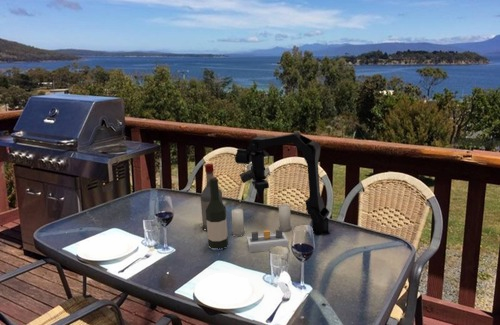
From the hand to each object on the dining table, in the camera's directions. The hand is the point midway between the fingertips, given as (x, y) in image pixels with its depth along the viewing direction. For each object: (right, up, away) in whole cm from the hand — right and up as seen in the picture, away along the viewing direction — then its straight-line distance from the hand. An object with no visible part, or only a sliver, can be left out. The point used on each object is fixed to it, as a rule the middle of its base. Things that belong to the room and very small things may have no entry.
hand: (259, 197), depth 195 cm
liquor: (-21, -14, +1) cm, 25 cm away
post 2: (+11, -14, -5) cm, 19 cm away
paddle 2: (+8, -15, -20) cm, 26 cm away
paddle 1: (-2, -15, -21) cm, 26 cm away
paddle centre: (+3, -15, -21) cm, 26 cm away
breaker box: (+3, -18, -20) cm, 27 cm away
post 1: (-9, -15, -8) cm, 20 cm away
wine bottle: (-17, -19, -18) cm, 32 cm away
